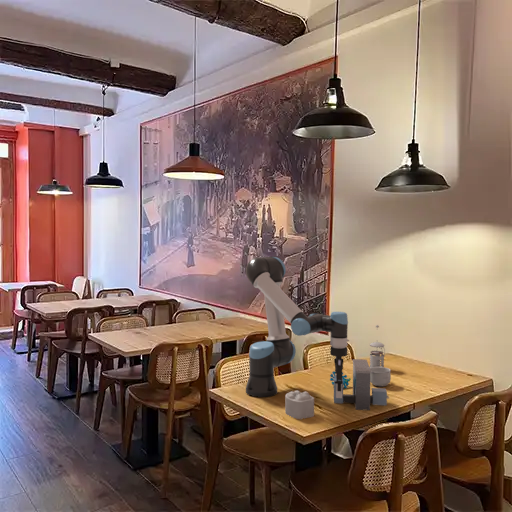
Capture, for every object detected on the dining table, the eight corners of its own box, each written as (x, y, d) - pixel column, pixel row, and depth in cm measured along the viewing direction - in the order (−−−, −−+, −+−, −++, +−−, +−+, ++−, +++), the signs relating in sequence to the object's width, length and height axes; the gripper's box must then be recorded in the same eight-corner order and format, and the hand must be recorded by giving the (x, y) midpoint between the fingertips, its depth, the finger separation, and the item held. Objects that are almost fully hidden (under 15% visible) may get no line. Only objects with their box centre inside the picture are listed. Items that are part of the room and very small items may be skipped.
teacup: (386, 389, 241) (386, 373, 241) (365, 385, 247) (365, 370, 247) (395, 382, 253) (395, 366, 253) (374, 379, 259) (374, 364, 259)
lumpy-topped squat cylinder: (296, 420, 200) (297, 399, 200) (279, 410, 211) (279, 390, 211) (317, 415, 205) (317, 395, 205) (299, 406, 216) (299, 386, 216)
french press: (364, 368, 279) (364, 325, 278) (376, 365, 287) (376, 322, 286) (379, 372, 272) (379, 327, 271) (390, 368, 280) (391, 324, 279)
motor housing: (355, 409, 212) (355, 370, 212) (352, 394, 232) (352, 359, 232) (370, 410, 211) (370, 371, 211) (366, 395, 232) (366, 359, 231)
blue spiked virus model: (332, 387, 239) (329, 369, 246) (328, 393, 243) (324, 375, 250) (353, 388, 242) (349, 370, 249) (348, 394, 246) (344, 376, 253)
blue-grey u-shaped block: (334, 403, 221) (334, 380, 221) (333, 399, 226) (333, 377, 226) (389, 405, 218) (389, 383, 217) (387, 401, 223) (388, 379, 222)
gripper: (348, 353, 209) (348, 402, 210) (346, 341, 234) (345, 385, 235) (331, 352, 210) (330, 401, 211) (330, 340, 235) (329, 384, 236)
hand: (338, 393), depth 223 cm, fingers open, 13 cm apart
